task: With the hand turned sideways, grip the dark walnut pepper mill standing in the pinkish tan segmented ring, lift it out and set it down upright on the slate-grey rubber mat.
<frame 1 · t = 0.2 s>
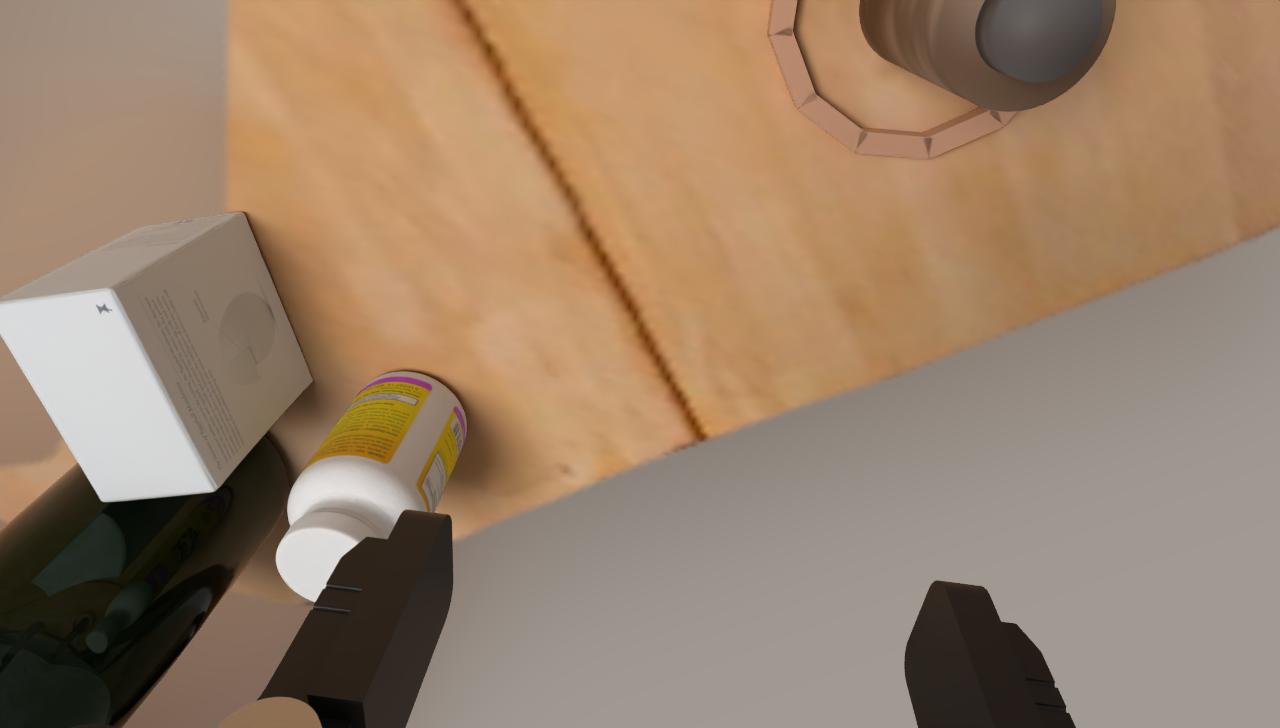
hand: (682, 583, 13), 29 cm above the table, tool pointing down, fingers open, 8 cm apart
skincare box: (230, 307, 43), on the table
pinkish tan segmented ring: (919, 3, 34), on the table
pepper mill: (969, 12, 28), in the pinkish tan segmented ring
supplement bottle: (415, 414, 46), on the table
wine bottle: (212, 465, 48), on the table
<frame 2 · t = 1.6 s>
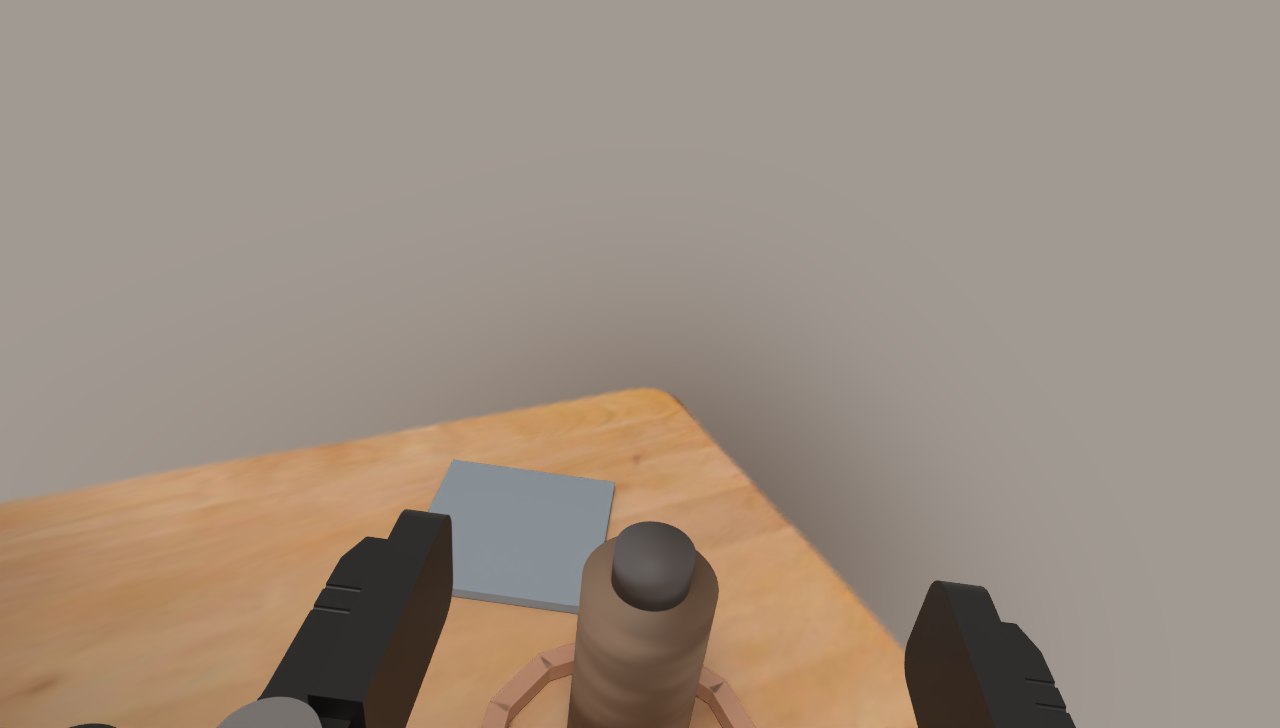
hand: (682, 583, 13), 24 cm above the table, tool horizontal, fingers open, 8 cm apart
mat: (515, 533, 48), on the table
pepper mill: (636, 670, 32), in the pinkish tan segmented ring
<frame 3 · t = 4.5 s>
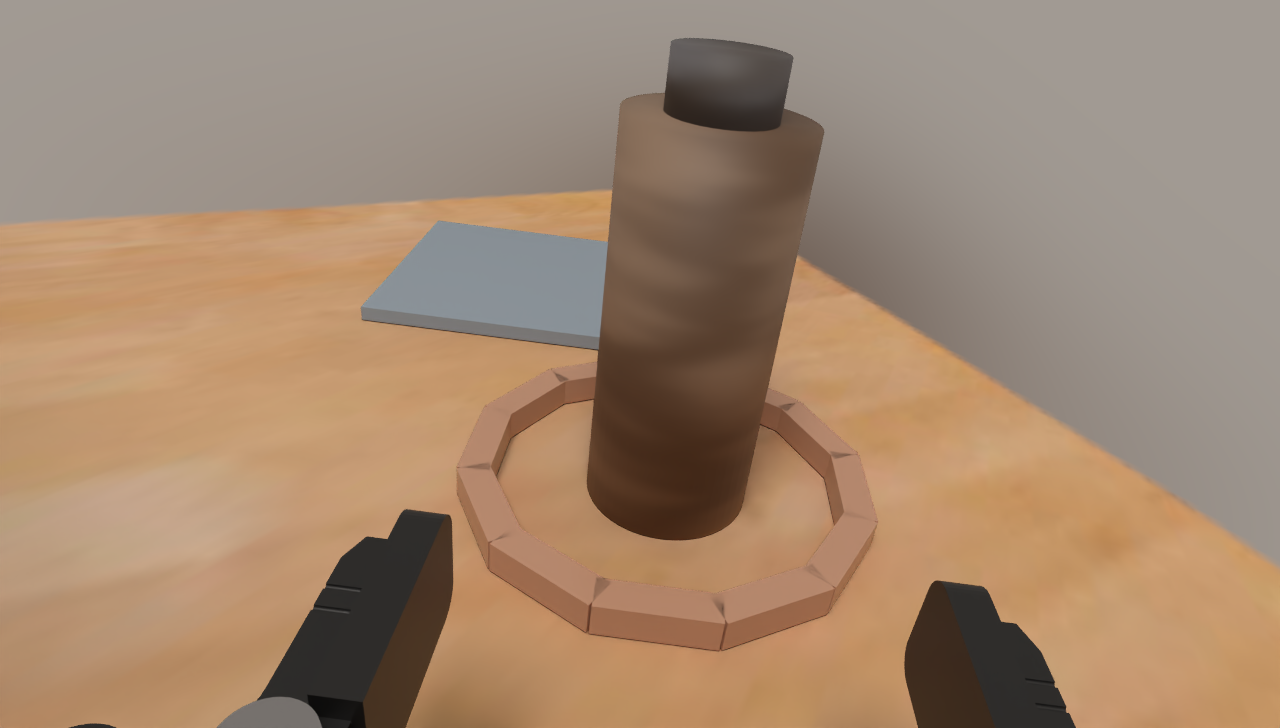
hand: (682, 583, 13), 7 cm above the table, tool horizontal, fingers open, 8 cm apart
mat: (516, 283, 38), on the table
pinkish tan segmented ring: (665, 484, 26), on the table
pepper mill: (693, 300, 22), in the pinkish tan segmented ring
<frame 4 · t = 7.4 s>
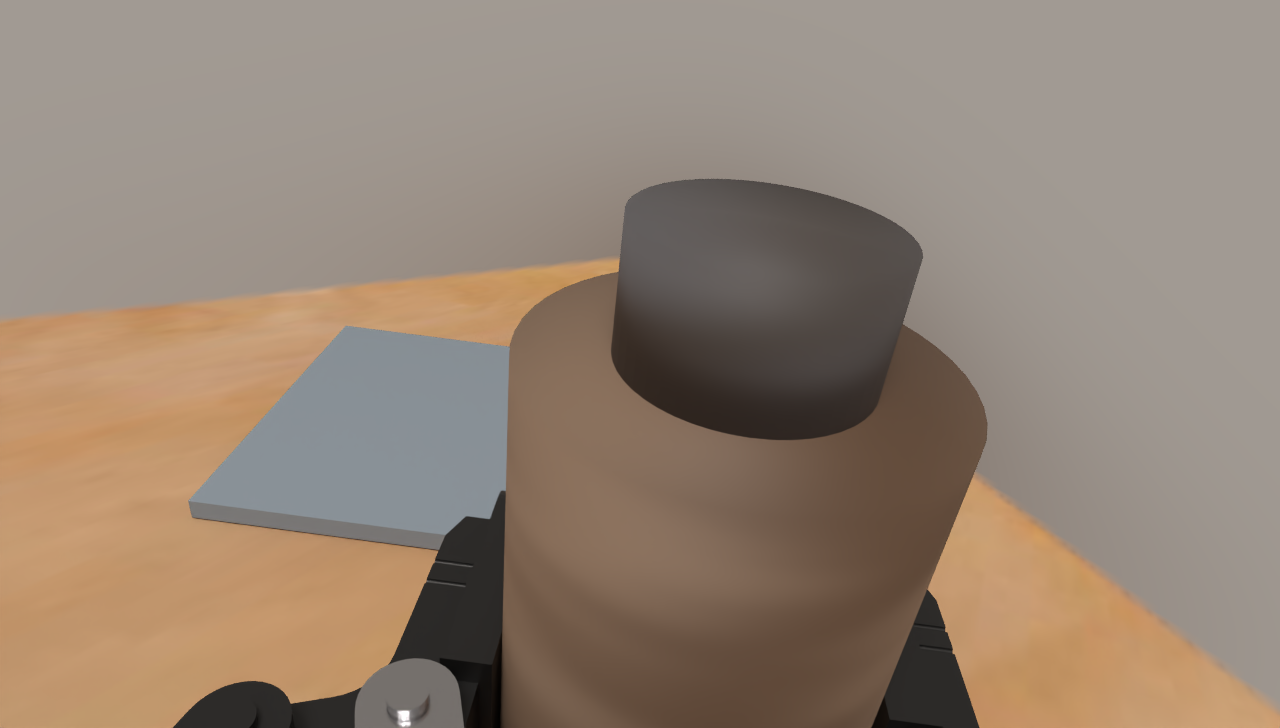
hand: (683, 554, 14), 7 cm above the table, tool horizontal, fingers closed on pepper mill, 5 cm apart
mat: (439, 432, 27), on the table
pepper mill: (682, 669, 11), in the pinkish tan segmented ring, touching gripper
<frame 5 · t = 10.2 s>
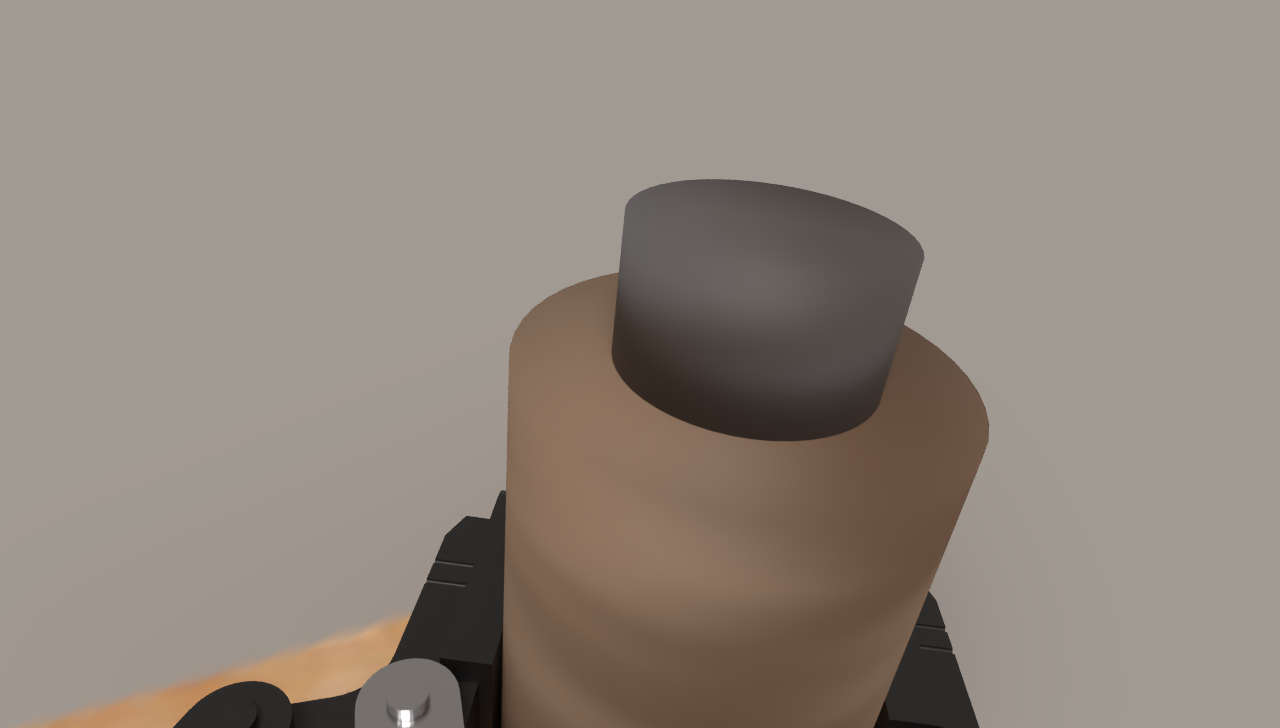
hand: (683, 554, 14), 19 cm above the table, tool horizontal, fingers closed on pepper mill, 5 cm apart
pepper mill: (683, 671, 11), point 19 cm above the table, touching gripper
when the fingers open (8 cm above the table, at t = 13.2 s): pepper mill drops 1 cm, resting on mat.
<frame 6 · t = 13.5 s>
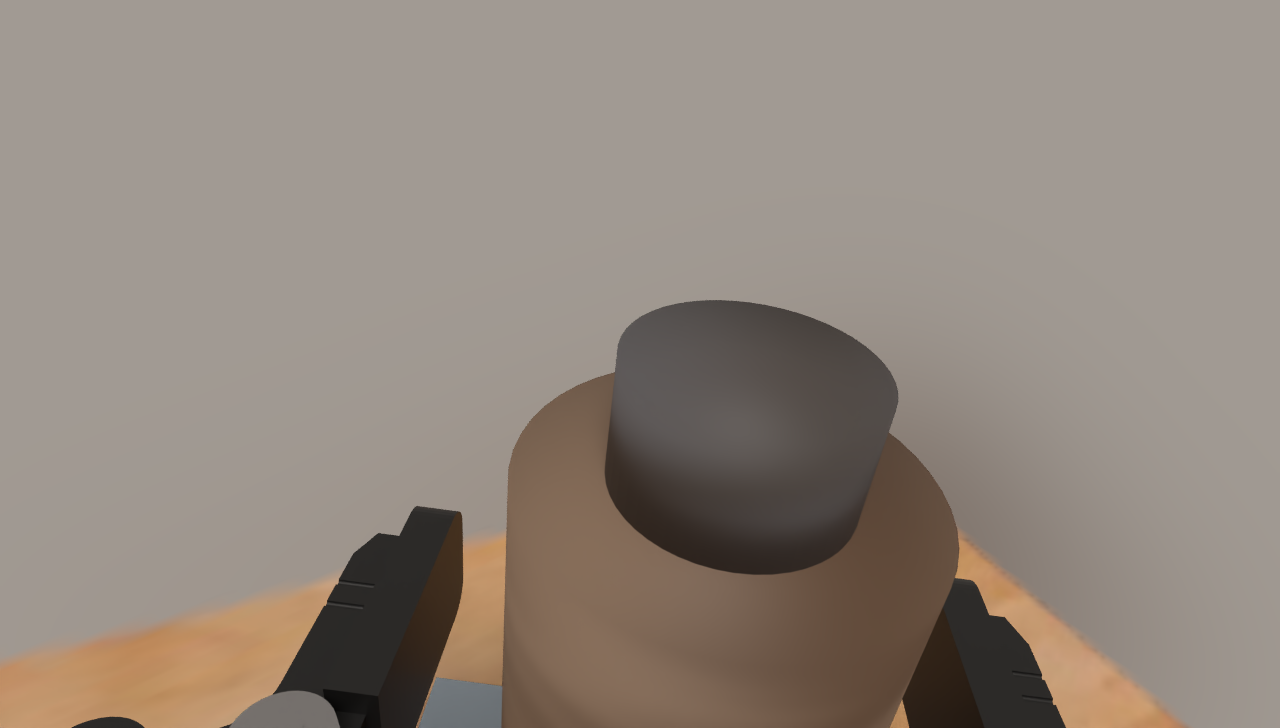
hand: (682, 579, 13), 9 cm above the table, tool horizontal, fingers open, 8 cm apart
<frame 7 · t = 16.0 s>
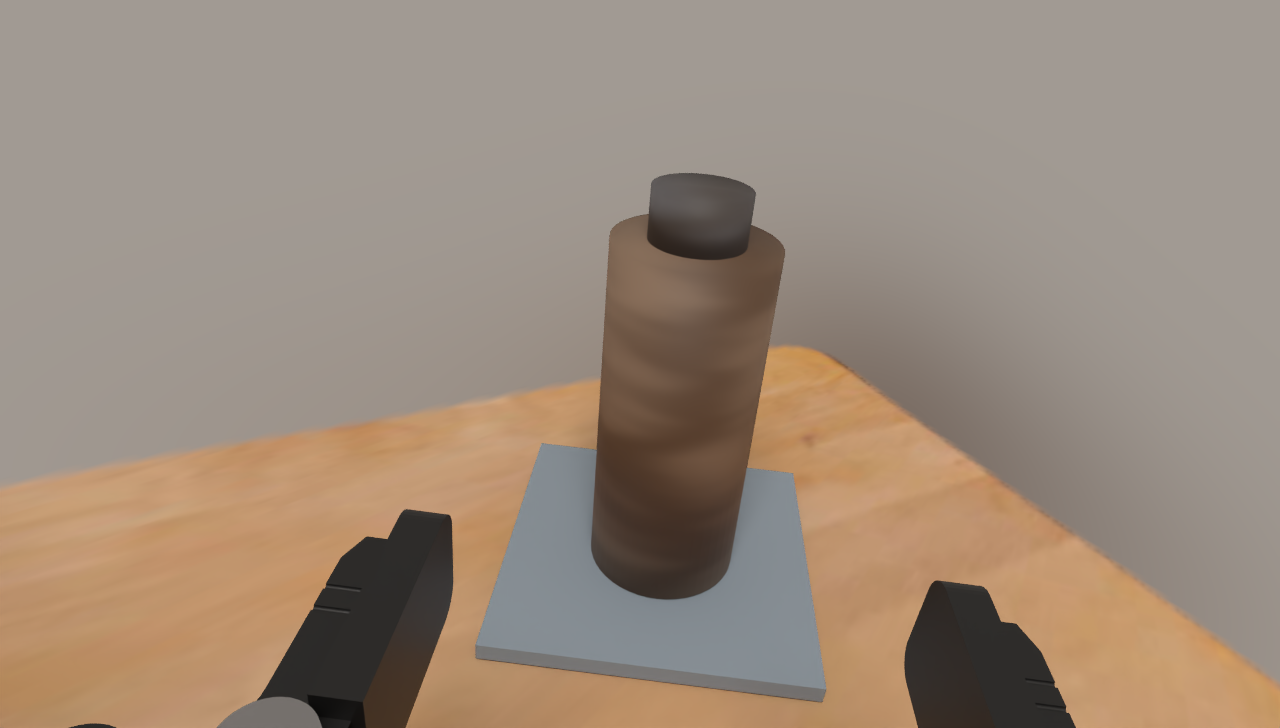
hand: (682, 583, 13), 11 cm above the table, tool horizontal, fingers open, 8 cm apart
mat: (658, 557, 29), on the table
pepper mill: (679, 390, 26), on the mat, point 7 cm above the table
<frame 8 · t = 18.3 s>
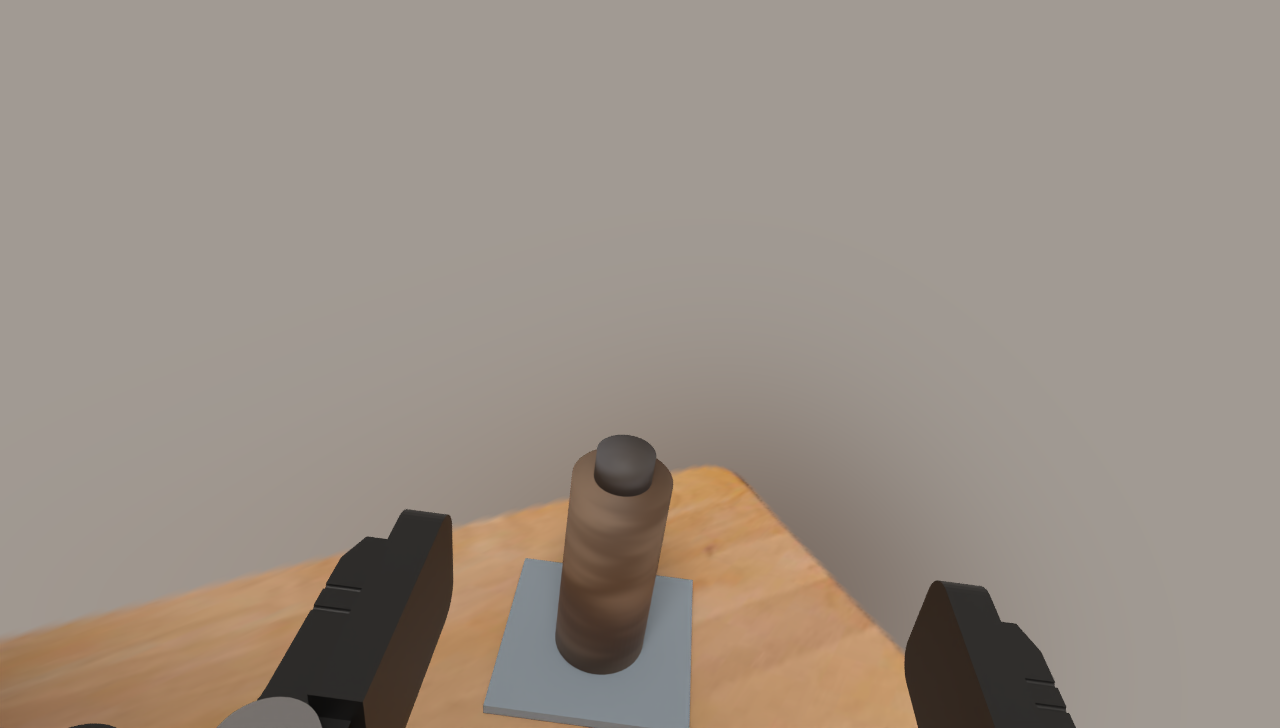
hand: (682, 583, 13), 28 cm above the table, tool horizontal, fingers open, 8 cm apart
mat: (597, 643, 46), on the table
pepper mill: (611, 552, 42), on the mat, point 8 cm above the table
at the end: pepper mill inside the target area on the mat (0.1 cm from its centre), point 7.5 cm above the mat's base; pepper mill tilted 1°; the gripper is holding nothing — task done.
